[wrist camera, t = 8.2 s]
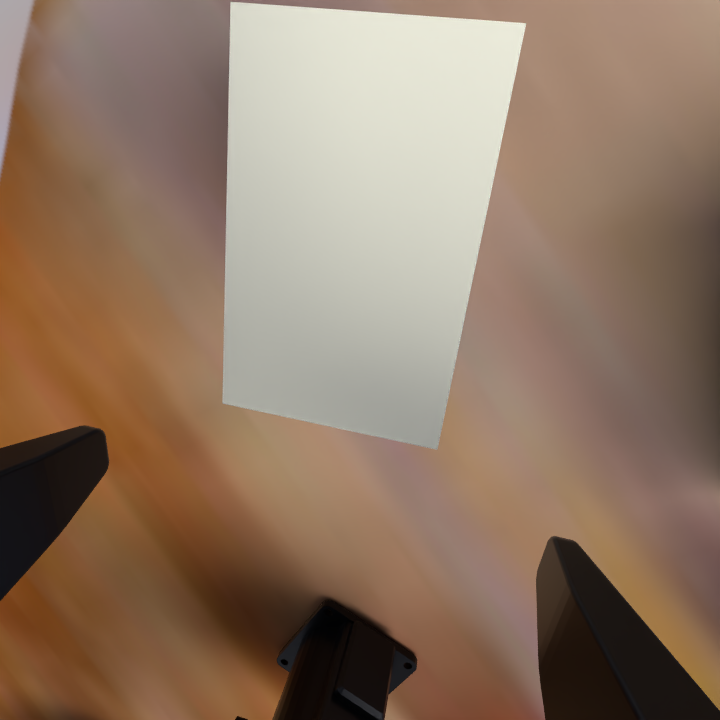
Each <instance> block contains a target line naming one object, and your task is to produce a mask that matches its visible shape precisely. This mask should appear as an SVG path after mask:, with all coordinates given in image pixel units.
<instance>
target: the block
mask: <svg viewBox="0 0 720 720" xmlns="http://www.w3.org/2000/svg"><path fill="white" fill-rule="evenodd" d="M525 26H526V23H515V22H501V21H487V20H474V19H460V18H446V17H432V16H419V15H405V14H391V13H377V12H364V11H350V10H336V9H322V8H308V7H295V6H281V5H267V4H253V3H240V2H231V7H230V57H229V107H228V157H227V207H226V257H225V307H224V357H223V404H228V405H232V406H237V407H242V408H246V409H251V410H256V411H260V412H265V413H270V414H274V415H279V416H283V417H288V418H293V419H297V420H302V421H307V422H311V423H316V424H321V425H325V426H330V427H334V428H339V429H344V430H348V431H353V432H358V433H362V434H367V435H372V436H376V437H381V438H386V439H390V440H395V441H399V442H404V443H409V444H413V445H418V446H423V447H427V448H432V449H437V448H438V444H439V439H440V434H441V429H442V424H443V420H444V415H445V410H446V405H447V400H448V396H449V391H450V386H451V381H452V376H453V372H454V367H455V362H456V357H457V352H458V348H459V343H460V338H461V333H462V328H463V324H464V319H465V314H466V309H467V304H468V300H469V295H470V290H471V285H472V280H473V276H474V271H475V266H476V261H477V257H478V252H479V247H480V242H481V237H482V233H483V228H484V223H485V218H486V213H487V209H488V204H489V199H490V194H491V189H492V185H493V180H494V175H495V170H496V165H497V161H498V156H499V151H500V146H501V141H502V137H503V132H504V127H505V122H506V117H507V113H508V108H509V103H510V98H511V93H512V89H513V84H514V79H515V74H516V70H517V65H518V60H519V55H520V50H521V46H522V41H523V36H524V31H525Z"/></svg>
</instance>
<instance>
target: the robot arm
mask: <svg viewBox="0 0 720 720" xmlns="http://www.w3.org/2000/svg"><path fill="white" fill-rule="evenodd" d="M108 466H109V457H108V450H107V443H106V436H105V433H104V432H103V430H101V429H99V428H94V427H90V426H78V427H75V428H71V429H68V430H64V431H61V432H57V433H53V434H50V435H46V436H43V437H39V438H35V439H32V440H28V441H25V442H21V443H17V444H14V445H10V446H7V447H3V448H0V601H1V600H2V599H3V597H4V596H5V595H6V594H7V593H8V592H9V591H10V590H11V589H12V587H13V586H14V585H15V584H16V583H17V582H18V581H19V580H20V578H21V577H22V576H23V575H24V574H25V573H26V572H27V571H28V570H29V568H30V567H31V566H32V565H33V564H34V563H35V562H36V561H37V559H38V558H39V557H40V556H41V555H42V554H43V553H44V552H45V551H46V549H47V548H48V547H49V546H50V545H51V544H52V543H53V541H54V540H55V539H56V538H57V537H58V536H59V534H60V533H61V532H62V531H63V529H64V528H65V527H66V525H67V524H68V523H69V522H70V520H71V519H72V518H73V516H74V515H75V513H76V512H77V511H78V509H79V508H80V507H81V505H82V504H83V503H84V501H85V500H86V499H87V497H88V496H89V495H90V493H91V492H92V491H93V489H94V488H95V487H96V485H97V484H98V483H99V481H100V480H101V479H102V477H103V476H104V475H105V473H106V471H107V469H108ZM536 593H537V629H538V660H539V674H540V683H541V690H542V698H543V705H544V712H545V719H546V720H720V711H719V710H718V708H717V707H716V706H715V705H714V704H713V702H712V701H711V700H710V699H709V698H708V697H707V695H706V694H705V693H704V692H703V691H702V689H701V688H700V687H699V686H698V685H697V684H696V682H695V681H694V680H693V679H692V678H691V676H690V675H689V674H688V673H687V672H686V671H685V669H684V668H683V667H682V666H681V665H680V664H679V662H678V661H677V660H676V659H675V658H674V656H673V655H672V654H671V653H670V652H669V651H668V649H667V648H666V647H665V646H664V645H663V643H662V642H661V641H660V640H659V639H658V638H657V636H656V635H655V634H654V633H653V632H652V631H651V629H650V628H649V627H648V626H647V625H646V623H645V622H644V621H643V620H642V619H641V618H640V616H639V615H638V614H637V613H636V612H635V610H634V609H633V608H632V607H631V606H630V605H629V603H628V602H627V601H626V600H625V599H624V597H623V596H622V595H621V594H620V593H619V592H618V590H617V589H616V588H615V587H614V586H613V585H612V583H611V582H610V581H609V580H608V579H607V577H606V576H605V575H604V574H603V573H602V572H601V570H600V569H599V568H598V567H597V566H596V564H595V563H594V562H593V561H592V560H591V559H590V557H589V556H588V555H587V554H586V553H585V552H584V550H583V549H582V548H581V547H580V546H579V544H578V543H576V542H575V541H573V540H570V539H565V538H561V537H557V536H553V537H551V538H550V539H549V540H548V542H547V545H546V548H545V550H544V553H543V556H542V559H541V561H540V564H539V567H538V571H537V577H536ZM328 609H329V610H328ZM277 663H278V664H279V665H280V666H281V667H283V668H284V669H286V670H287V671H289V672H290V673H289V676H288V679H287V681H286V684H285V687H284V690H283V692H282V695H281V698H280V700H279V703H278V706H277V708H276V711H275V714H274V717H273V719H272V720H384V718H385V713H386V706H387V700H388V695H389V694H390V693H391V692H392V691H393V690H394V689H395V688H396V687H398V686H399V685H400V684H401V683H402V682H403V681H404V680H405V679H406V678H408V677H409V676H410V675H411V674H412V673H413V672H414V671H415V670H416V668H417V658H416V657H415V656H414V655H413V654H411V653H410V652H408V651H407V650H405V649H404V648H402V647H401V646H399V645H398V644H396V643H395V642H393V641H392V640H390V639H389V638H387V637H386V636H384V635H383V634H381V633H380V632H378V631H377V630H375V629H374V628H372V627H371V626H369V625H368V624H366V623H365V622H363V621H362V620H360V619H359V618H357V617H356V616H354V615H353V614H351V613H350V612H348V611H347V610H345V609H344V608H342V607H341V606H340V605H338V604H337V603H335V602H333V601H330V600H327V601H324V602H323V603H322V604H321V605H320V607H319V608H318V609H317V610H316V611H315V612H314V613H313V615H312V616H311V617H310V618H309V619H308V620H307V622H306V623H305V624H304V625H303V626H302V627H301V628H300V630H299V631H298V632H297V633H296V634H295V635H294V636H293V638H292V639H291V640H290V641H289V642H288V643H287V645H286V646H285V647H284V648H283V649H282V650H281V651H280V653H279V656H278V658H277ZM235 720H248V719H245V718H242V717H239V716H237V717H236V719H235Z"/></svg>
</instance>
